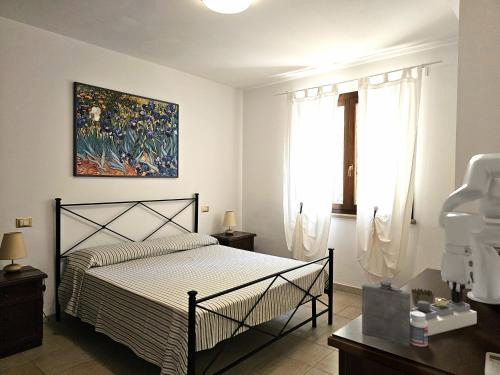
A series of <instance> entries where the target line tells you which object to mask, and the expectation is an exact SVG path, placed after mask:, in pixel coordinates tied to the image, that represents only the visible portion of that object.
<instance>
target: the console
mask: <svg viewBox="0 0 500 375" xmlns="http://www.w3.org/2000/svg"><path fill="white" fill-rule="evenodd" d="M451 300H452V299H451ZM451 300H447V309H440V308H437V307H435V303H433V304H431V305H430V312H429V313H424V312H422V313H424V314H425V315H426V320H425V321H426V322H427V324H428V337H429V336H433V335H437V334H441V333H444V332H449V331H453V330H456V329H460V328H464V327H469V326H472V325H476V324H477V319H478V317H477V313H478V312H477V311H475V310H473V309H471V305H470V304H469V303H466V302H464V301H462V302H463V305H462V306H457V305H454V304H451ZM413 311H418V307H413V308H410V319H412V318H411V312H413ZM418 312H420V311H418Z"/></svg>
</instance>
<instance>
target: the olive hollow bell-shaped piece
mask: <svg viewBox="0 0 500 375" xmlns="http://www.w3.org/2000/svg"><path fill="white" fill-rule="evenodd" d="M410 293H411V298H412V299H411V300H412V303H413V305H414V306H415V307H414V308H416V307H418V301H426V302H429V303H430V305H431V304H434V303H433V302H434V297H435V296H434V295H435V293H434V292H433V291H432V290H430V289H428V290H427V289H424V290H423V288H419V287H418V288H414V289H413V288H412V289H411V292H410Z"/></svg>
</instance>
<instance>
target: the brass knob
mask: <svg viewBox="0 0 500 375" xmlns="http://www.w3.org/2000/svg"><path fill="white" fill-rule="evenodd" d="M447 301H448V299H447V298H444V297H435V298H434V304H435V307H437V308H440V309H447Z"/></svg>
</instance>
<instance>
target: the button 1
mask: <svg viewBox="0 0 500 375" xmlns="http://www.w3.org/2000/svg"><path fill="white" fill-rule="evenodd" d="M418 311H420V312H424V313H429V312H430V303H429V302H426V301H418Z"/></svg>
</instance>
